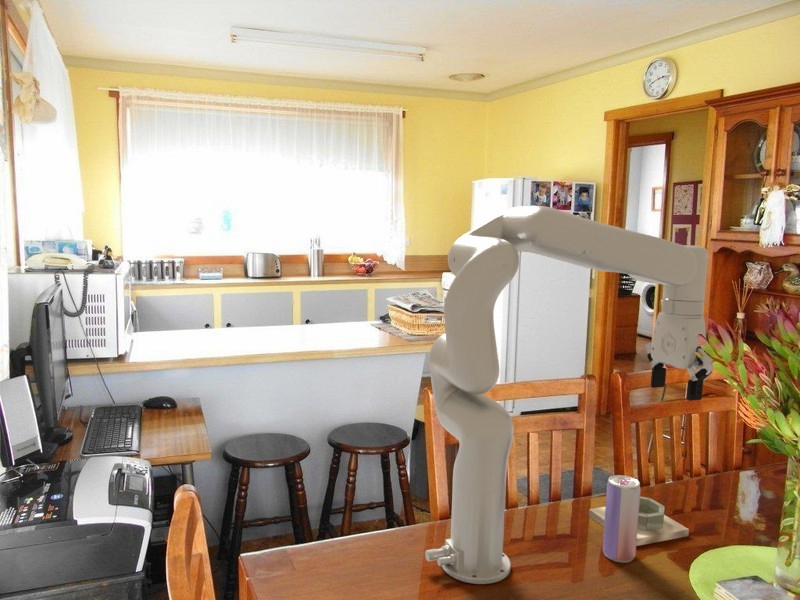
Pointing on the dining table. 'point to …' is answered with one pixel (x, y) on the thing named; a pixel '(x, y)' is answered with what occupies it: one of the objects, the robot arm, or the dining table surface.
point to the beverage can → (621, 518)
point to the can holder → (649, 523)
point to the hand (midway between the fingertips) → (675, 393)
